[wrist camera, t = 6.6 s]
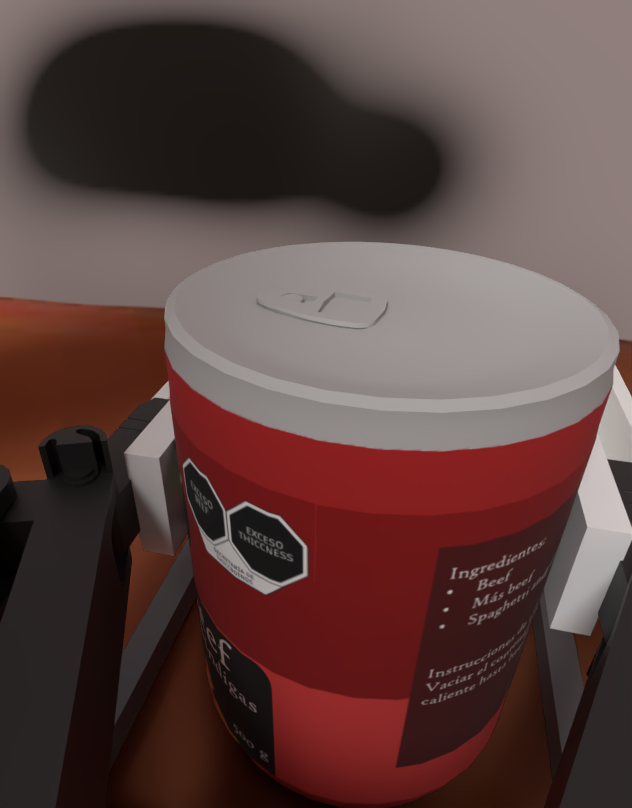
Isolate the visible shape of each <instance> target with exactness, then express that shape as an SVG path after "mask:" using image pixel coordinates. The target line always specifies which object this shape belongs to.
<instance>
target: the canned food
mask: <svg viewBox="0 0 632 808" xmlns="http://www.w3.org/2000/svg"><path fill="white" fill-rule="evenodd" d="M165 303H166V304H165V316H164V320H165V328H166V331H165V346H164V351H165V358H166V366H167V374H168V381H169V389H170V406H171V414H172V421H173V428H174V436H175V443H176V450H177V457H178V465H179V472H180V479H181V487H182V494H183V501H184V508H185V516H186V523H187V530H188V538H189V545H190V552H191V559H192V567H193V574H194V581H195V589H196V596H197V603H198V610H199V618H200V625H201V632H202V640H203V647H204V654H205V661H206V669H207V676H208V681H209V685H210V689H211V692H212V696H213V700H214V703H215V707H216V708H217V710H218V712H219V714H220V716H221V718H222V720H223V722H224V724H225V725H226V727H227V729H228V731H229V733H230V734H231V735H232V736H233V738H234V739H235V740H236V741H237V742H238V744H239V745H240V746H241V747H242V748H243V749H244V751H245V752H246V753H247V754H248V755H249V757H250V758H251V759H252V760H253V761H254V762H255V764H256V765H257V766H258V767H259V768H260V769H262V770H263V771H264V772H266V773H267V774H268V775H269V776H271V777H272V778H273V779H274V780H276V781H277V782H278V783H280V784H281V785H282V786H284V787H286V788H288V789H290V790H292V791H294V792H296V793H298V794H300V795H302V796H304V797H306V798H308V799H310V800H313V801H317V802H321V803H325V804H329V805H333V806H336V807H340V808H387V807H392V806H398V805H404V804H407V803H409V802H412V801H414V800H417V799H419V798H421V797H424V796H426V795H428V794H431V793H433V792H435V791H436V790H438V789H439V788H441V787H442V786H444V785H445V784H446V783H448V782H449V781H450V780H452V779H453V778H454V777H456V776H457V775H458V774H460V773H461V772H462V771H464V770H465V769H466V768H468V767H469V766H470V765H471V763H472V762H473V761H474V760H475V758H476V757H477V756H478V755H479V753H480V752H481V751H482V750H483V748H484V747H485V746H486V745H487V743H488V741H489V739H490V736H491V734H492V732H493V730H494V727H495V725H496V723H497V720H498V718H499V715H500V712H501V710H502V707H503V704H504V701H505V698H506V695H507V692H508V690H509V687H510V684H511V681H512V678H513V675H514V672H515V670H516V667H517V664H518V661H519V658H520V655H521V652H522V650H523V647H524V644H525V641H526V638H527V635H528V632H529V630H530V627H531V624H532V621H533V618H534V615H535V612H536V609H537V607H538V604H539V601H540V598H541V595H542V592H543V589H544V587H545V584H546V581H547V578H548V575H549V572H550V569H551V567H552V564H553V561H554V558H555V555H556V552H557V549H558V547H559V544H560V541H561V538H562V535H563V532H564V529H565V527H566V524H567V521H568V518H569V515H570V512H571V509H572V507H573V504H574V501H575V498H576V495H577V492H578V489H579V487H580V484H581V481H582V478H583V475H584V472H585V469H586V467H587V464H588V461H589V458H590V455H591V452H592V449H593V447H594V444H595V441H596V437H597V432H598V428H599V424H600V422H601V419H602V416H603V413H604V410H605V407H606V404H607V401H608V398H609V395H610V392H611V389H612V386H613V371H614V366H615V363H616V360H617V357H618V354H619V333H618V332H617V330H616V328H615V327H614V325H613V323H612V322H611V320H610V318H609V317H608V316H607V315H606V314H605V313H604V312H603V311H602V310H600V309H599V308H598V307H597V306H596V305H595V304H594V303H593V302H591V301H590V300H588V299H587V298H585V297H583V296H582V295H580V294H578V293H577V292H575V291H573V290H572V289H570V288H568V287H567V286H565V285H563V284H561V283H559V282H556V281H554V280H552V279H550V278H547V277H545V276H543V275H541V274H538V273H536V272H533V271H530V270H527V269H524V268H521V267H518V266H515V265H512V264H509V263H506V262H501V261H498V260H494V259H490V258H486V257H482V256H478V255H473V254H468V253H463V252H457V251H452V250H446V249H439V248H432V247H425V246H417V245H406V244H394V243H393V244H392V243H376V242H323V243H311V244H298V245H289V246H282V247H275V248H268V249H263V250H259V251H254V252H250V253H246V254H241V255H238V256H235V257H232V258H229V259H226V260H223V261H220V262H217V263H215V264H212V265H210V266H208V267H206V268H204V269H202V270H200V271H198V272H196V273H194V274H192V275H190V276H189V277H187V278H186V279H185V280H184V281H183V282H181V283H180V284H179V285H177V286H176V287H175V288H174V290H173V291H172V293H171V294H170V296H169V297H168V299H167V301H166V302H165Z"/></svg>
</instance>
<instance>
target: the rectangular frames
mask: <svg viewBox="0 0 632 808" xmlns="http://www.w3.org/2000/svg"><path fill="white" fill-rule="evenodd" d="M196 597H197V596H196V589H195V581H194V574H193V567H192V559H191V552H190V545H189V538H188V540H187V541H186V543H185V545H184V546H183V548H182V550H181V552H180V553H179V555H178V557H177V559H176V560H175V562H174V564H173V566H172V567H171V569H170V571H169V572H168V574H167V576H166V578H165V579H164V581H163V583H162V585H161V586H160V588H159V590H158V592H157V593H156V595H155V597H154V599H153V600H152V602H151V604H150V605H149V607H148V609H147V611H146V612H145V614H144V616H143V618H142V619H141V621H140V623H139V625H138V626H137V628H136V630H135V631H134V633H133V635H132V637H131V638H130V640H129V642H128V644H127V645H126V647H125V649H124V651H123V652H122V658H121V667H120V677H119V686H118V696H117V705H116V714H115V724H114V733H113V742H112V752H111V761H110V769H111V767H112V765H113V763H114V761H115V759H116V757H117V755H118V753H119V751H120V749H121V747H122V745H123V743H124V741H125V739H126V737H127V735H128V733H129V731H130V729H131V727H132V725H133V723H134V721H135V719H136V717H137V715H138V713H139V711H140V709H141V707H142V705H143V703H144V701H145V699H146V697H147V695H148V693H149V691H150V689H151V687H152V685H153V683H154V681H155V679H156V677H157V675H158V673H159V671H160V669H161V667H162V665H163V663H164V661H165V659H166V657H167V655H168V653H169V651H170V649H171V647H172V645H173V643H174V641H175V639H176V637H177V635H178V633H179V631H180V629H181V627H182V625H183V623H184V621H185V619H186V617H187V615H188V613H189V611H190V609H191V607H192V605H193V603H194V601H195V599H196ZM533 629H534V637H535V645H536V653H537V661H538V669H539V677H540V685H541V692H542V700H543V708H544V716H545V724H546V732H547V740H548V748H549V756H550V764H551V772H552V780H553V779H554V776H555V773H556V770H557V768H558V765H559V762H560V759H561V756H562V753H563V750H564V747H565V744H566V741H567V738H568V735H569V732H570V729H571V726H572V723H573V720H574V717H575V714H576V711H577V708H578V705H579V703H580V700H581V697H582V694H583V691H584V686H583V681H582V676H581V670H580V665H579V660H578V655H577V650H576V645H575V640H574V635H573V633H572V632H567V631H562V630H556V629H551V628H550V626H549V619H548V613H547V606H546V600H545V593H544V589H543V592H542V595H541V598H540V601H539V604H538V607H537V609H536V612H535V615H534V618H533ZM109 771H110V770H109Z"/></svg>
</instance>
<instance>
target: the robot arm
mask: <svg viewBox="0 0 632 808" xmlns="http://www.w3.org/2000/svg"><path fill="white" fill-rule="evenodd" d="M38 447H39V451H40V454H41V458H42V461H43V465H44V468H45V472H46V475H47V479H46V480H35V481H19V482H13V480H12V477H11V474H10V471H9V469H7V468H6V467H4V466H3V465H0V808H106V798H107V789H108V780H109V770H110V761H111V752H112V742H113V733H114V724H115V714H116V705H117V696H118V686H119V677H120V667H121V658H122V649H123V639H124V630H125V621H126V611H127V602H128V593H129V583H130V574H131V565H132V557H131V552H130V547H129V546H130V545H131V543H132V542H133V540H134V539H135V537H136V536H137V534H138V533H139V534H140V539H141V544H142V549H143V551H148V552H154V553H159V554H164V555H169V556H175V554H176V552H177V550H178V549H179V547H180V545H181V544H182V542H183V540H184V538H185V537H186V535H187V533H188V530H187V523H186V516H185V508H184V501H183V494H182V487H181V479H180V472H179V465H178V457H177V450H176V443H175V436H174V428H173V421H172V414H171V406H170V399H163V398H156V397H155V398H153V399H151V400H149V401H148V402H146V403H144V404H142V405H140V406H138V407H137V408H136V410H135V411H134V412H133V413H132V414H131V415H130V416H129V417H128V420H125V421H124V422H123V423H122V424H121V425H120V427H119V430H118V429H117V430H116V431H115V432H114V433H113V434H112V435H111V436H110V437H109V438H108V439H107V437H106V434H105V433H104V432H103V431H102V430H101V429H99V428H95V427H92V426H74V427H69V428H64V429H62V430H59V431H56V432H54V433H52V434H51V435H49V436H48V437H46V438H45V439H43V441H42V442H41V444H40V445H39V446H38ZM544 593H545V600H546V606H547V613H548V619H549V626H550V628H551V629H556V630H562V631H567V632H572V633H577V634H582V635H588V636H591V633H592V631H593V629H594V626H595V624H596V622H597V619H598V617H599V620H600V624H601V628H602V632H603V639H602V641H601V643H600V645H599V647H598V650H597V652H596V654H595V656H594V658H593V661H592V663H591V665H590V667H589V669H588V672H587V674H586V675H588V679H587V682H586V685H585V688H584V691H583V694H582V697H581V700H580V703H579V705H578V708H577V711H576V714H575V717H574V720H573V723H572V726H571V729H570V732H569V735H568V738H567V741H566V744H565V747H564V750H563V753H562V756H561V759H560V762H559V765H558V768H557V770H556V773H555V776H554V779H553V782H552V785H551V788H550V791H549V794H548V797H547V800H546V803H545V806H544V808H632V462H625V461H617V460H610V459H607V458H606V455H605V452H604V450H603V447H602V444H601V441H600V439H599V436H598V433H597V437H596V441H595V444H594V447H593V449H592V452H591V455H590V458H589V461H588V464H587V467H586V469H585V472H584V475H583V478H582V481H581V484H580V487H579V489H578V492H577V495H576V498H575V501H574V504H573V507H572V509H571V512H570V515H569V518H568V521H567V524H566V527H565V529H564V532H563V535H562V538H561V541H560V544H559V547H558V549H557V552H556V555H555V558H554V561H553V564H552V567H551V569H550V572H549V575H548V578H547V581H546V584H545V587H544Z"/></svg>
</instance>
